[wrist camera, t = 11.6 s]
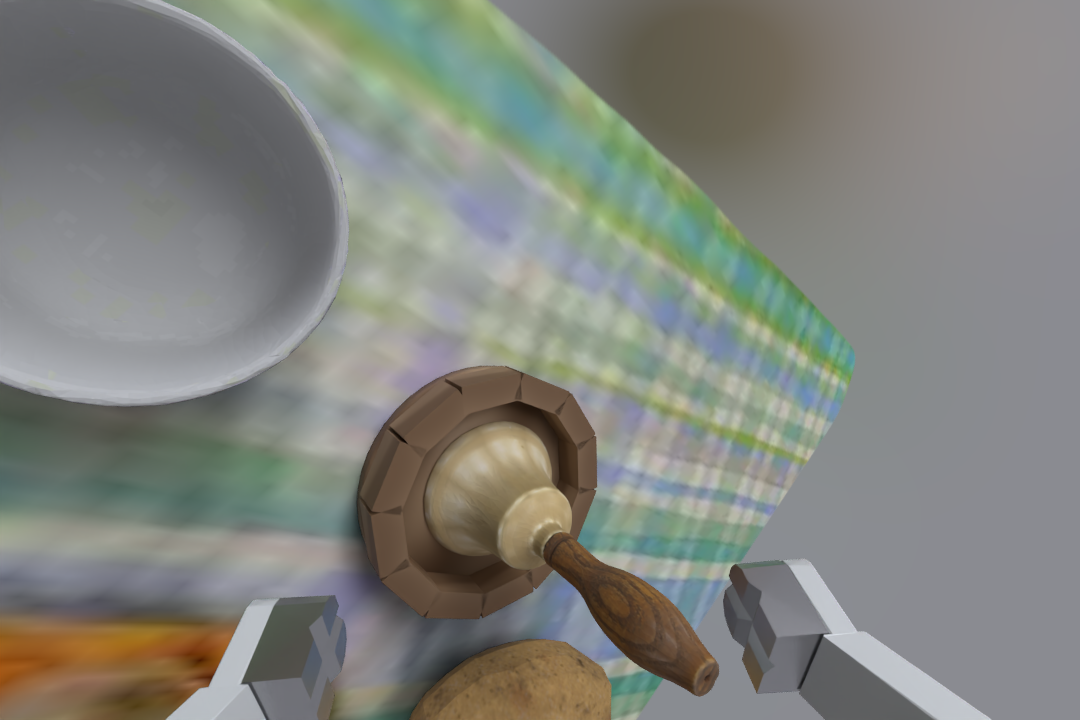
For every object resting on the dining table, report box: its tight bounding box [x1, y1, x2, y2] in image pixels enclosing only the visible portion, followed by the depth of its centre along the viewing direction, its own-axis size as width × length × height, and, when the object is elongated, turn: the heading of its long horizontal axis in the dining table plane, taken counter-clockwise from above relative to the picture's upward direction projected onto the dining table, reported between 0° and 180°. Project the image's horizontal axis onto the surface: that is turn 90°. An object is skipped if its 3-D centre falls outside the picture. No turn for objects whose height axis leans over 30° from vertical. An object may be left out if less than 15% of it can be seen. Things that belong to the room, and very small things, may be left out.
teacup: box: [0, 0, 349, 407], centre depth 16 cm, size 14×11×8 cm
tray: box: [357, 366, 597, 619], centre depth 29 cm, size 14×14×3 cm
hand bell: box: [424, 421, 719, 696], centre depth 23 cm, size 8×8×16 cm
